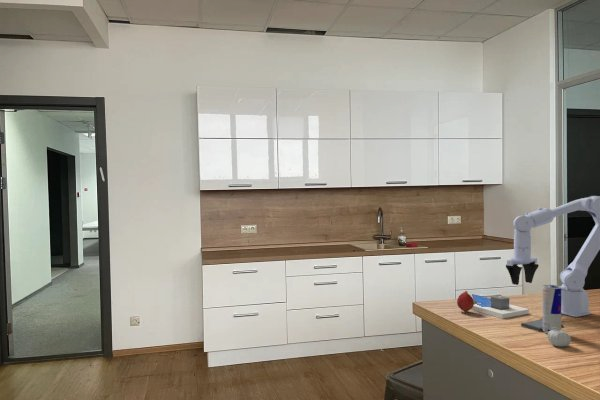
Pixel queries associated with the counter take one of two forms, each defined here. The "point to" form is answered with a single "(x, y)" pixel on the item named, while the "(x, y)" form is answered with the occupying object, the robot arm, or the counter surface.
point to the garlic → (559, 337)
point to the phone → (535, 325)
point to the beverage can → (551, 307)
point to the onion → (465, 302)
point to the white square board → (502, 311)
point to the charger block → (499, 302)
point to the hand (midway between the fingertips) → (522, 283)
